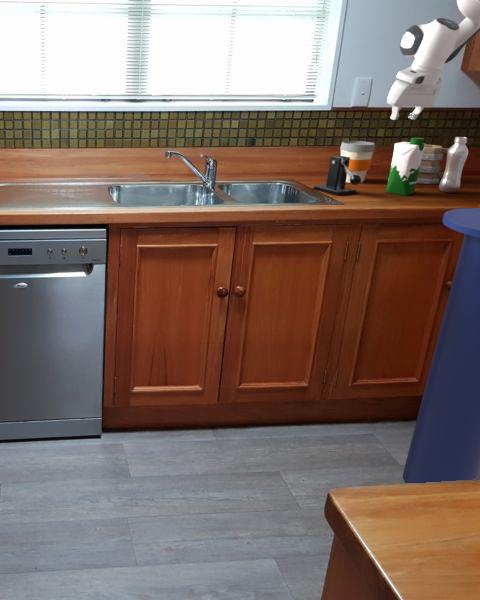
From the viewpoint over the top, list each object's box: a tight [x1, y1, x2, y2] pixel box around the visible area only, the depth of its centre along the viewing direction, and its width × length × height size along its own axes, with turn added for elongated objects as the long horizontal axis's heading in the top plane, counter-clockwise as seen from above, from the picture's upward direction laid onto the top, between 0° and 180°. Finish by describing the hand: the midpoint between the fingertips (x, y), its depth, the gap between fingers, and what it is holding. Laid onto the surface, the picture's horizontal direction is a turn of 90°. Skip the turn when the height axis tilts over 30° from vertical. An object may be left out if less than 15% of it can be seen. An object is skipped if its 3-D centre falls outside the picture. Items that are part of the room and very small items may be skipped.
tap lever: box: [340, 157, 361, 186], centre depth 220 cm, size 13×4×4 cm
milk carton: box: [386, 137, 426, 197], centre depth 221 cm, size 9×9×20 cm
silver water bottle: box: [438, 136, 469, 194], centre depth 223 cm, size 6×7×20 cm
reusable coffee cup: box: [339, 140, 376, 184], centre depth 243 cm, size 13×13×15 cm
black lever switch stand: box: [313, 155, 358, 197], centre depth 224 cm, size 12×9×13 cm
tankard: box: [416, 143, 451, 185], centre depth 242 cm, size 20×13×15 cm, turn 67°
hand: (402, 119), depth 197 cm, fingers open, 8 cm apart
